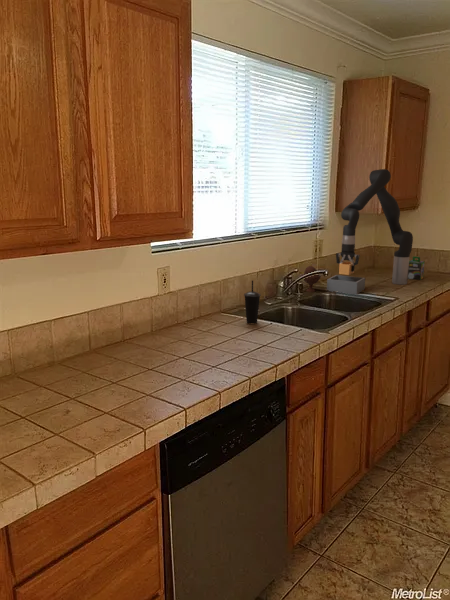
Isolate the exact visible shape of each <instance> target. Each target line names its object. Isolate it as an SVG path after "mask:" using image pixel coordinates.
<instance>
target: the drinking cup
mask: <svg viewBox="0 0 450 600" xmlns="http://www.w3.org/2000/svg"><path fill="white" fill-rule="evenodd" d="M243 296H244V306H245V307H244V308H245V317H246V318H245V321H246V324H248V323H256V324H258V319H259V318H258V317H259V308H260V300H261V293H259V292H257V291H254V280H251V290H250V291H247V292H245V293H244V294H243Z"/></svg>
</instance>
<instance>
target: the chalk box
mask: <svg viewBox="0 0 450 600" xmlns="http://www.w3.org/2000/svg"><path fill="white" fill-rule="evenodd" d="M424 274H425V260H421V257H420V256H412V259H411V260H409V269H408V280H417V281H421V280H423V278H424V276H425V275H424Z"/></svg>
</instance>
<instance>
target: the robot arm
mask: <svg viewBox="0 0 450 600" xmlns="http://www.w3.org/2000/svg"><path fill="white" fill-rule="evenodd" d="M391 176H392V175H391V171H389V169H386V168H381V169H375V170H372V171H370V173H369V176H368V177H369V182H370V185H369V186H368V187H366V188H365V189H364V190H362V191H361V192H360V193H359V194H358V195H357V196H356V197H355V199H354V200H353V201H351V202H350V203H349V204H348V205H346V206H345V207H344V208H343V209H342V211H341V214H340V216H341V219H342V220H343V221H348V224H344V225H343V227H342V239H341V250H340V252H337V253H335V260H336V262H335V263H336V264H337V265H338V264H340V263H343V262H345V261H349V262H351V264H352V266H351V272H353V271H354V272H355V267H356V265H357V266H358V264H359V261H360V257H361V255H360V254H356V253H355V249H356V229H357V225H358V222H359V219H360V211H362V210H363V209H364V208H365V207H366V205H368V203H369V202H370V201H371V199H373V197H374V196H376V197H377V199H378V202H379V203H380V206H381V208H382V211H383V214H384V217H385V219H386V222H387V224H388V227H389V230H390V233H391V238H392V241H393V243H394V244H396V245H397V246H399V247H398V249H397V250H395V251H394V253H393V265H392V266H393V267H392V277H391V278H392V279H391V283H392V284H394V285H407V284H408V280H409V279H408V269H409V261H410V256H411V252H412V248H413V243H414V235H413V233H412V232H410V231H408V230H403V228H402V226H401V224H400V217H401V210H400V207H399V204H398V202H397V201H398V200H397V199H395V197H393V195H391V193H390V192H389V191H388V190H387V189H386V187H385V186H386V185H387V184H389V182H390V180H391V178H392V177H391ZM340 257H341V258H340ZM354 258H355V260H354ZM354 262H355V263H354Z"/></svg>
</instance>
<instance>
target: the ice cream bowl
mask: <svg viewBox="0 0 450 600" xmlns="http://www.w3.org/2000/svg"><path fill="white" fill-rule="evenodd" d="M314 271H317V269H316V267H314V266H311V265H309V266H307V267H306V268H305V270H304V272H303V274H302V275H301V276H303V275H305V274H308V273H311V272H314ZM321 277H322V275H321V274H319V275H314V276H311V277H308V278H305V279H304V280H303V281H304V283H307V284H309V288H307V289H306V290H305V291H306V292H309V293H315V292H316V289H315V288H313V287H314V285H315V284H317V283H318V282H319V281H320V279H321Z"/></svg>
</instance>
